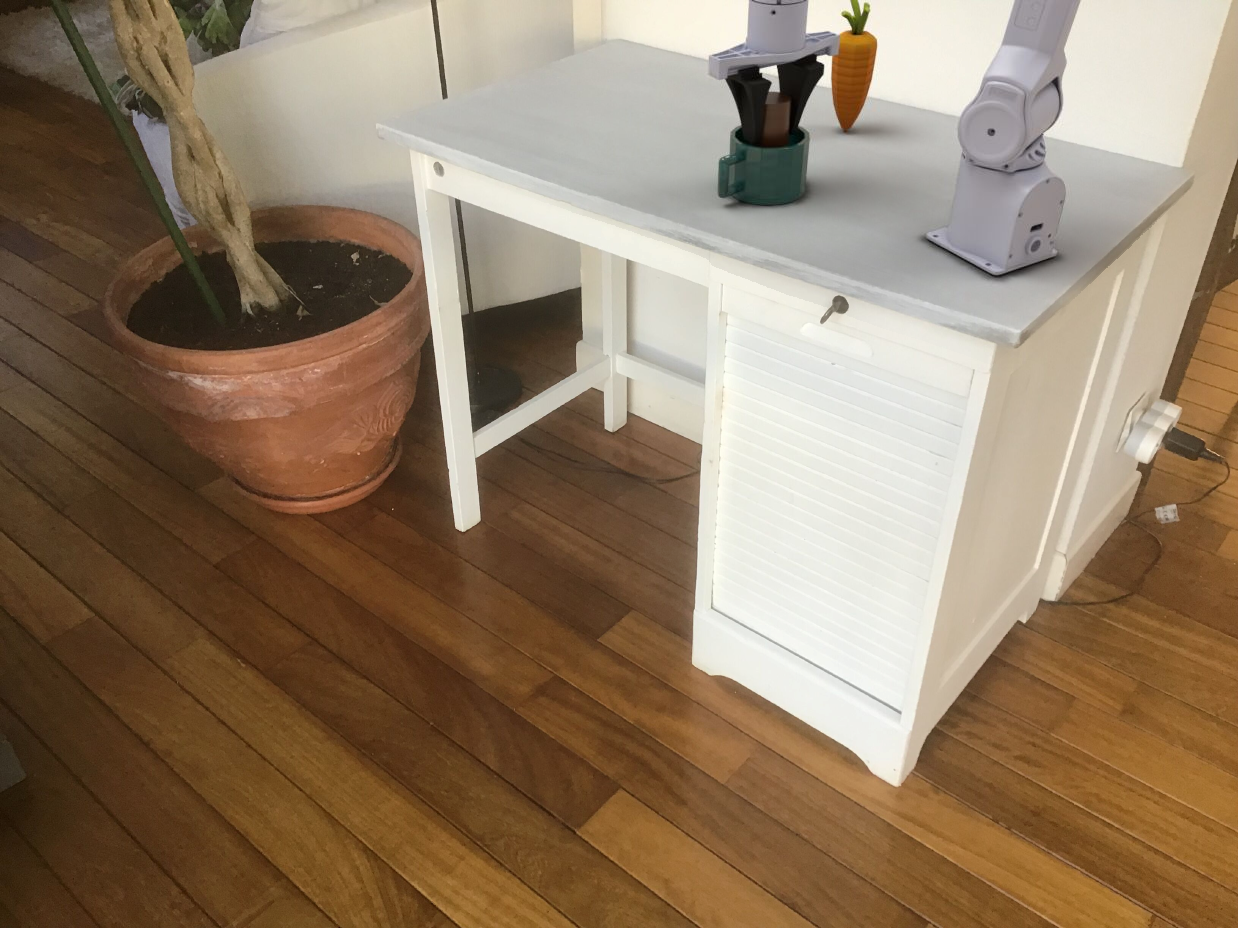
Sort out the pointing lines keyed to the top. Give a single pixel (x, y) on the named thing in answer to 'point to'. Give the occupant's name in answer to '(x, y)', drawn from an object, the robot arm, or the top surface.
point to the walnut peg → (775, 121)
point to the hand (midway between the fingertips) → (769, 136)
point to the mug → (764, 170)
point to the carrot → (853, 67)
